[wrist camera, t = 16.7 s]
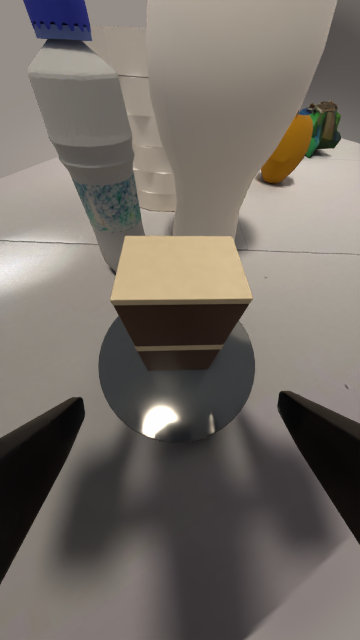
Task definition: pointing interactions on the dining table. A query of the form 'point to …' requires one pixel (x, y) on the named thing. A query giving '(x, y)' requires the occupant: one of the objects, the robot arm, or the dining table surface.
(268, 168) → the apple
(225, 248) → the cake slice
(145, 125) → the basket
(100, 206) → the bottle
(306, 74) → the white vase
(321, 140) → the sculpture
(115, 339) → the plate
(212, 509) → the dining table surface
